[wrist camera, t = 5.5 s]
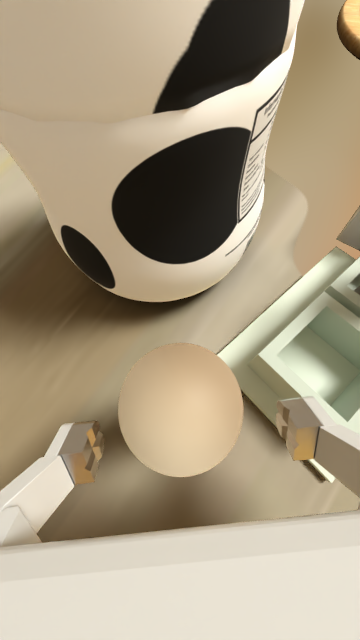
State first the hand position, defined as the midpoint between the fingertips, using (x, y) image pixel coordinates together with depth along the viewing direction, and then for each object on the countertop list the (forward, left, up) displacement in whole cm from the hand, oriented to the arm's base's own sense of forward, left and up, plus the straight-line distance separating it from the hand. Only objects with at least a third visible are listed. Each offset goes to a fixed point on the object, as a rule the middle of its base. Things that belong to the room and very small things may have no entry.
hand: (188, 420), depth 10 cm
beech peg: (0, 0, -8) cm, 8 cm away
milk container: (+9, +14, -8) cm, 19 cm away
